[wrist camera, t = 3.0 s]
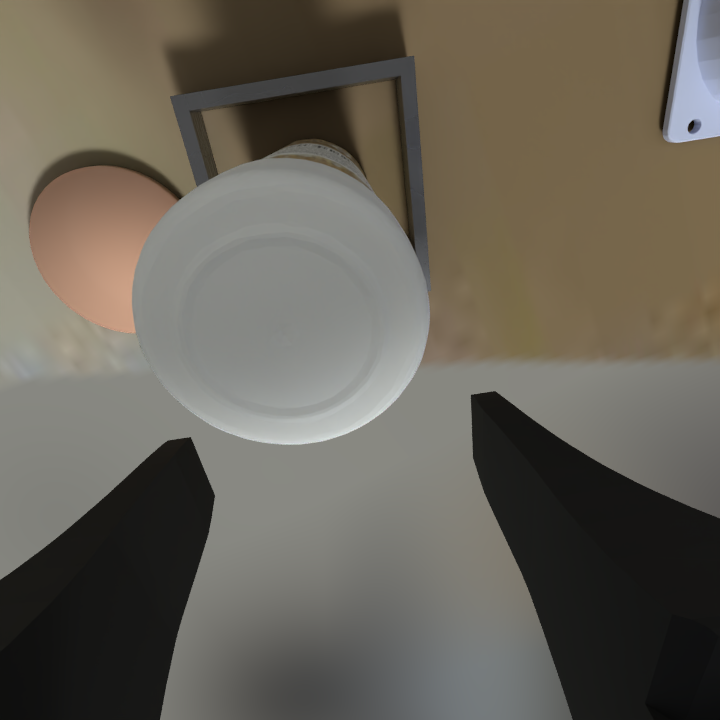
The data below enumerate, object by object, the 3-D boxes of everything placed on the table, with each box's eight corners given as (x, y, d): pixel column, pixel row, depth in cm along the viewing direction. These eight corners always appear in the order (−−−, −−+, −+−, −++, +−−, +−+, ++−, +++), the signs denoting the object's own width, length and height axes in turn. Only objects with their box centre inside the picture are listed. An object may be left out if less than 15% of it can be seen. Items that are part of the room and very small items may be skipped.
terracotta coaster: (177, 152, 17) (173, 152, 17) (228, 316, 21) (226, 320, 20) (3, 180, 18) (-6, 182, 17) (81, 339, 21) (75, 343, 20)
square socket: (407, 60, 16) (414, 55, 15) (424, 279, 20) (430, 290, 19) (183, 98, 17) (170, 96, 15) (243, 308, 20) (237, 320, 19)
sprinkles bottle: (245, 226, 19) (92, 403, 7) (283, 114, 17) (163, 96, 5) (344, 269, 20) (357, 486, 8) (390, 169, 18) (496, 259, 6)
